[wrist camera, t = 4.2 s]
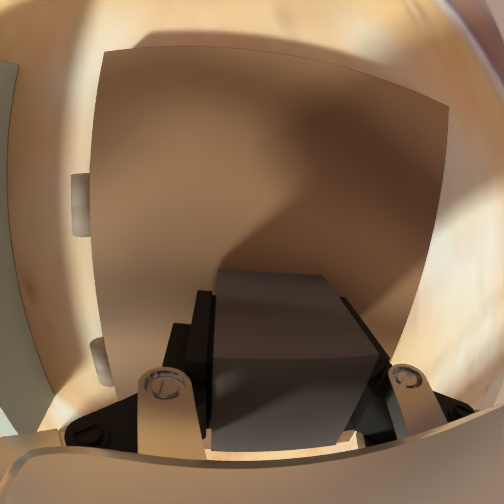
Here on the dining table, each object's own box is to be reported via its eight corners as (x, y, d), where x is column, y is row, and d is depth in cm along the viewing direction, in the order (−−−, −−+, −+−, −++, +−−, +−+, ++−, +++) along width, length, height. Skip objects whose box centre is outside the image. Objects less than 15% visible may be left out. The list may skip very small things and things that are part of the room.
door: (342, 425, 17) (371, 498, 11) (118, 419, 15) (97, 499, 9) (429, 108, 10) (536, 102, 4) (93, 65, 9) (-1, 16, 3)
